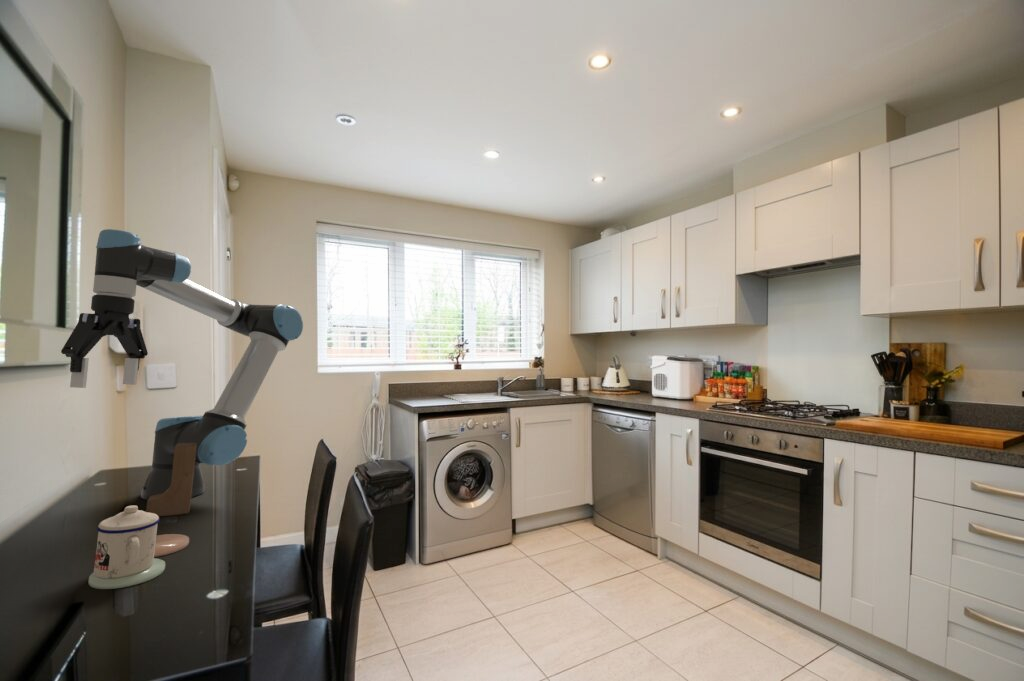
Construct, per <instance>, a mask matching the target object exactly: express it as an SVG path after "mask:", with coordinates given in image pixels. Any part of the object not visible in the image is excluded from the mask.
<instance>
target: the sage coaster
mask: <svg viewBox="0 0 1024 681" xmlns="http://www.w3.org/2000/svg"><path fill="white" fill-rule="evenodd" d="M165 569H166V562H165V560H163V559H161V558H157V557H154V561H153V564H152V565H151V566H150V567H149V568H148V569H146V570H144V571H142V572H139V573H137V574H134V575H130V576H126V577H120V578H111V579H105V578H99V577H96V576H95V575H94V571H93V572H92V573H91V574H90V575H89V577H88V586H89V587H91V588H94V589H97V590H98V589H99V590H113V589H121V588H127V587H133V586H136V585H139V584H142V583H145V582H148V581H151V580H152V579H153V580H154V579H155V578H156V577H158V576H160V575H161V574H163V572H164V571H165Z"/></svg>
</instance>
